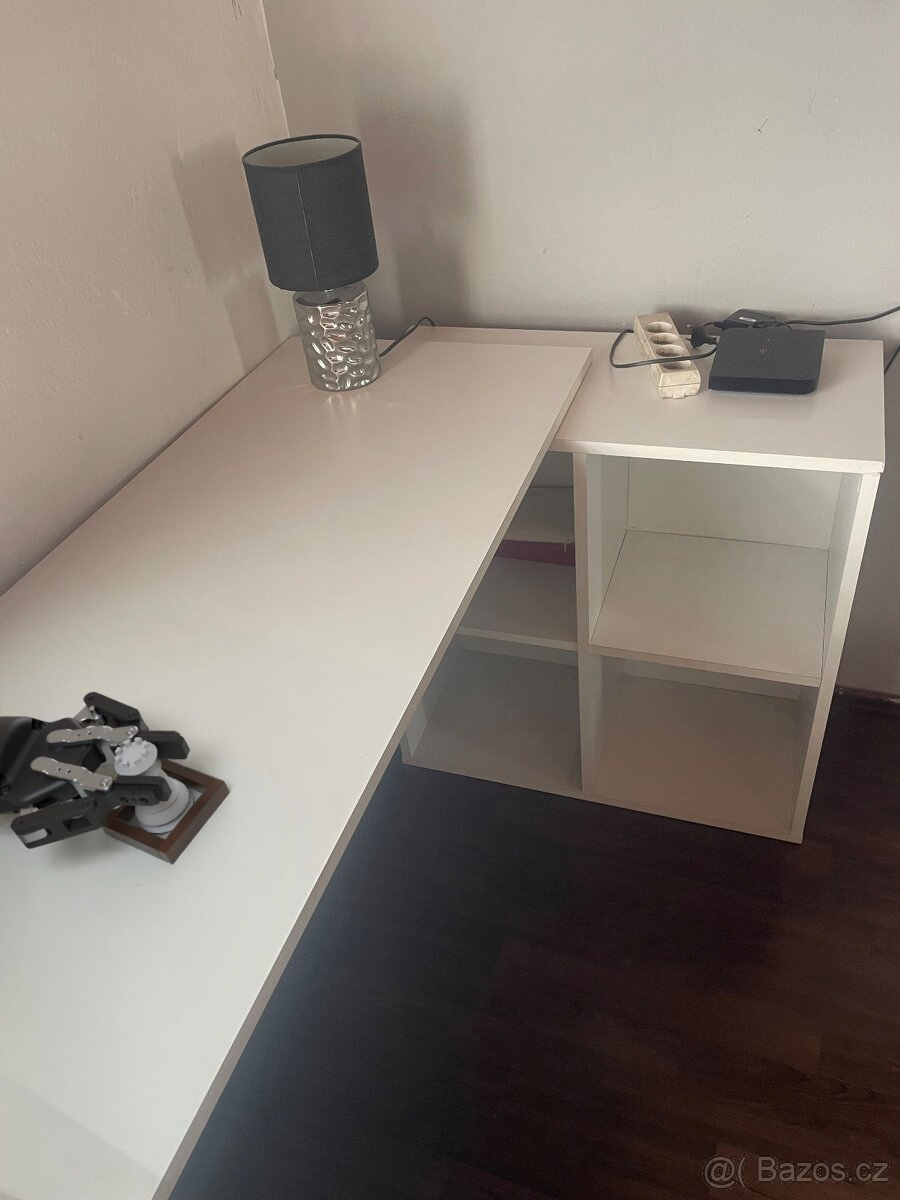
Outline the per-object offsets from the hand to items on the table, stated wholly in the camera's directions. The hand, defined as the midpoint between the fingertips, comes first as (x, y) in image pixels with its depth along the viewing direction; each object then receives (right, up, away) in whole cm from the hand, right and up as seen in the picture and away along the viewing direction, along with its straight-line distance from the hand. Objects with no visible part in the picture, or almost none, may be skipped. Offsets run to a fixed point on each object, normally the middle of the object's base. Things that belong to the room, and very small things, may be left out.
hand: (175, 767), depth 65 cm
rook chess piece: (-2, -5, +5) cm, 7 cm away
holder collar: (-2, -5, +4) cm, 7 cm away
